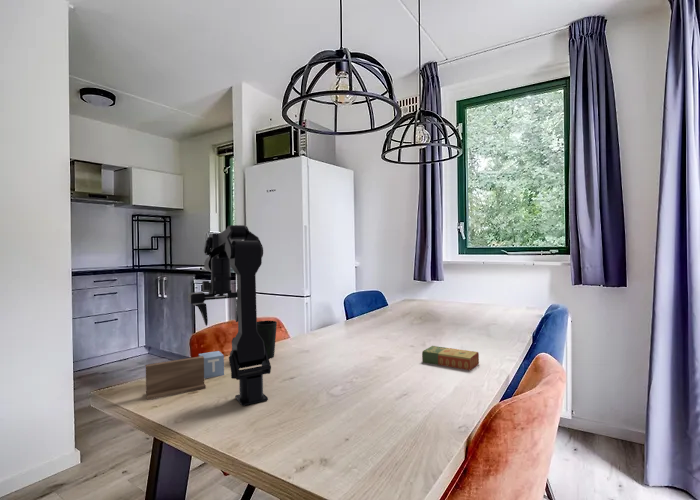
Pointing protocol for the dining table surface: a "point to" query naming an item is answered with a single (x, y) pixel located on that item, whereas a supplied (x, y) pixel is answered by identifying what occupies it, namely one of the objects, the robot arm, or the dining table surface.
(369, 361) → the dining table surface
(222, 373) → the letter cube
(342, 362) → the dining table surface
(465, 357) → the carton
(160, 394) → the wooden l bracket
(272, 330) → the cup
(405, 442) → the dining table surface
